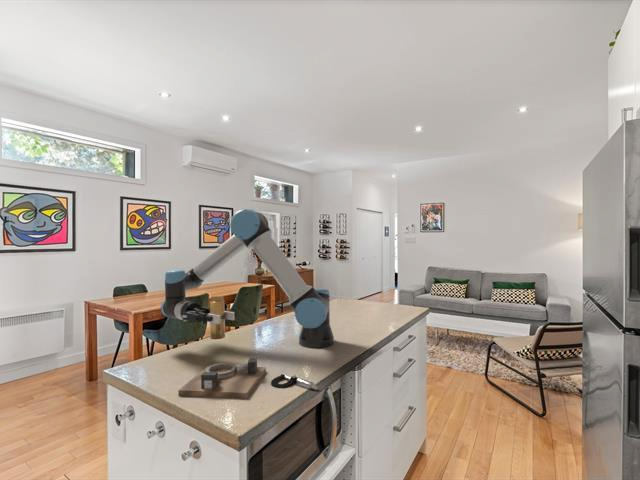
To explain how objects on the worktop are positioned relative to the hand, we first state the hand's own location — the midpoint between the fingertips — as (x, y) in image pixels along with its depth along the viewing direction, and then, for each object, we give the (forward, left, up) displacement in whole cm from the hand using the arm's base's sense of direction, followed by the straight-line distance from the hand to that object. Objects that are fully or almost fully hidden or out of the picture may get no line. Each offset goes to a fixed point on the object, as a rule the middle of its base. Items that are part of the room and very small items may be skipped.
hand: (226, 318), depth 114 cm
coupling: (+4, -3, -8) cm, 9 cm away
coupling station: (-5, +12, -17) cm, 22 cm away
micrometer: (-26, +13, -18) cm, 34 cm away
